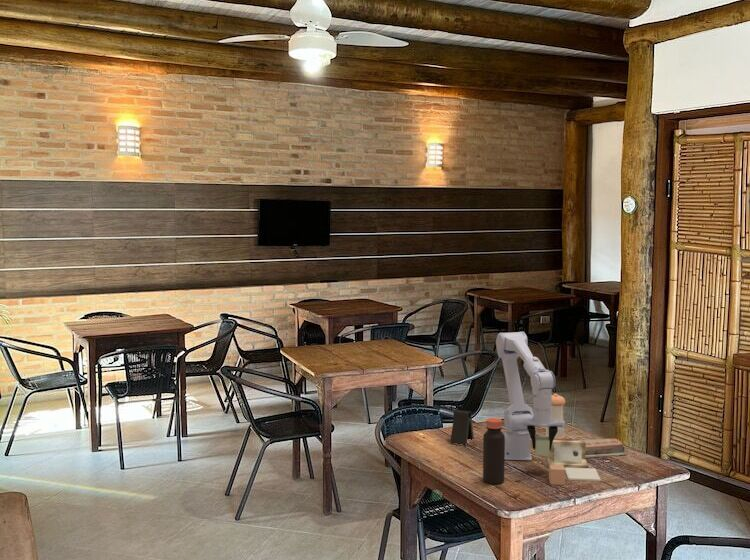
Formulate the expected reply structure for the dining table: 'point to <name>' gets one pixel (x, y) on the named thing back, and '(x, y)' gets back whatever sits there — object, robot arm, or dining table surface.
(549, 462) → the beige box
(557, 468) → the terracotta block
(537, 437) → the sage block
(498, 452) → the bottle
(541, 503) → the dining table surface
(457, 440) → the phone stand
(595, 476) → the mat
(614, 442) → the packaged product
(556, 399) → the pepper shaker
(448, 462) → the dining table surface
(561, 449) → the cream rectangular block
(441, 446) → the dining table surface
